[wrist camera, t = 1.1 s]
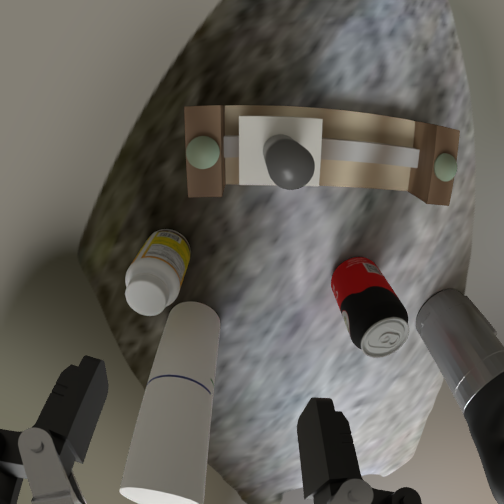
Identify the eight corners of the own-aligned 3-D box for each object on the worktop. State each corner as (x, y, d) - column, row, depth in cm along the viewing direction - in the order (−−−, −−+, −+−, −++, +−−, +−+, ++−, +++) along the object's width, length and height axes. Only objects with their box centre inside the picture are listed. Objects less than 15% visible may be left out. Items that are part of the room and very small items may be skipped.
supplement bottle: (159, 274, 37) (135, 328, 28) (139, 236, 35) (105, 282, 26) (199, 262, 36) (184, 315, 27) (180, 220, 34) (156, 264, 25)
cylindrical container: (201, 293, 38) (163, 487, 16) (230, 331, 41) (220, 511, 19) (158, 313, 40) (102, 486, 17) (188, 347, 43) (159, 512, 20)
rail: (430, 124, 29) (462, 131, 23) (422, 189, 32) (451, 207, 27) (196, 106, 28) (183, 106, 23) (198, 181, 32) (187, 198, 26)
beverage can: (342, 247, 36) (376, 307, 25) (384, 260, 37) (426, 319, 26) (321, 290, 38) (343, 357, 28) (362, 300, 39) (392, 364, 29)
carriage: (316, 118, 26) (347, 124, 18) (313, 179, 29) (340, 212, 20) (239, 115, 26) (235, 119, 18) (239, 178, 29) (236, 211, 20)
